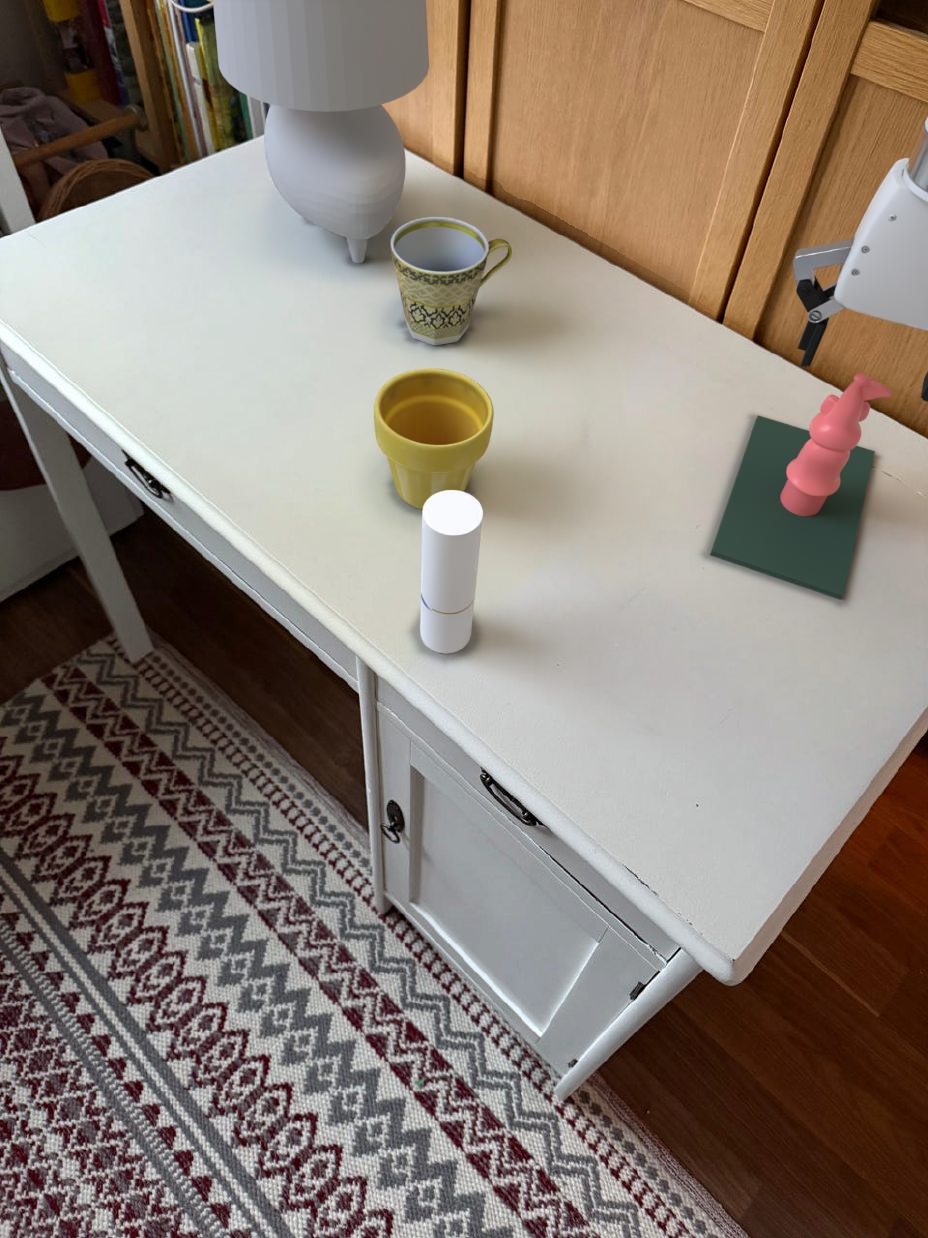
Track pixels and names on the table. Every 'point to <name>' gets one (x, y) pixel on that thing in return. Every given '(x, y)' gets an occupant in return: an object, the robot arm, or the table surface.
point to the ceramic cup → (441, 275)
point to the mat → (791, 514)
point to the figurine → (829, 446)
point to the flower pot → (432, 431)
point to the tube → (449, 569)
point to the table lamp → (329, 100)
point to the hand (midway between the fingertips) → (866, 373)
